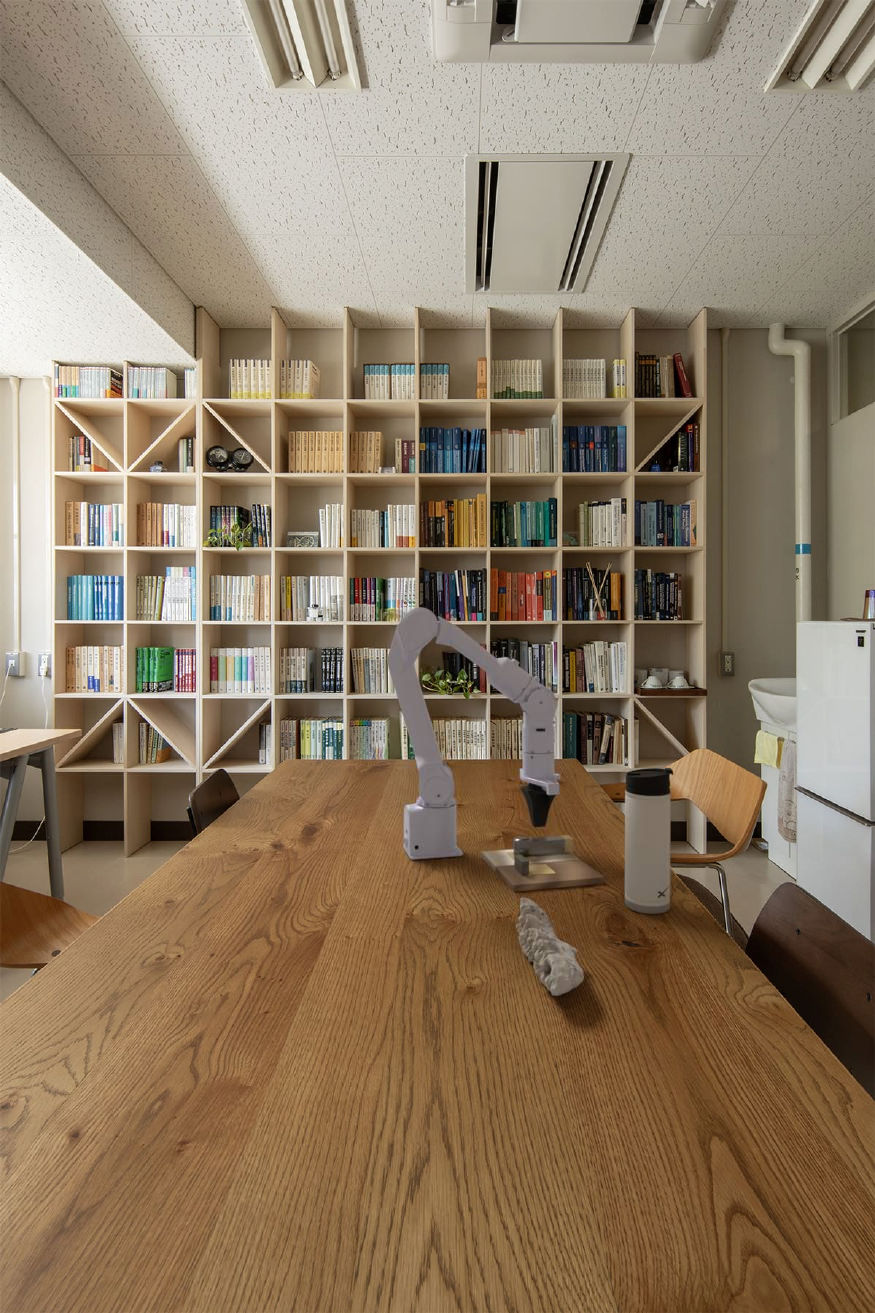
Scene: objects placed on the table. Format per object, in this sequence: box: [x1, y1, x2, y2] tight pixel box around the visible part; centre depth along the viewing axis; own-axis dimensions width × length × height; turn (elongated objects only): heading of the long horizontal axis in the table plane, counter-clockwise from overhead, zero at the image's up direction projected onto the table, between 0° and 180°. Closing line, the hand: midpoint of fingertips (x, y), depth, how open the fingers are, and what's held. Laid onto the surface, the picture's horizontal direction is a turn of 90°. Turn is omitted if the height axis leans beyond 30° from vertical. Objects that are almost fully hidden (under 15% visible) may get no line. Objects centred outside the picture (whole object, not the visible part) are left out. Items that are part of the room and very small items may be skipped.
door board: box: [481, 848, 605, 893], centre depth 117 cm, size 15×17×3 cm
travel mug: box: [624, 767, 674, 915], centre depth 101 cm, size 6×7×20 cm
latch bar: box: [512, 834, 574, 857], centre depth 122 cm, size 10×3×3 cm, turn 103°
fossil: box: [515, 897, 585, 997], centre depth 83 cm, size 21×6×5 cm, turn 6°
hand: (538, 826), depth 127 cm, fingers closed
